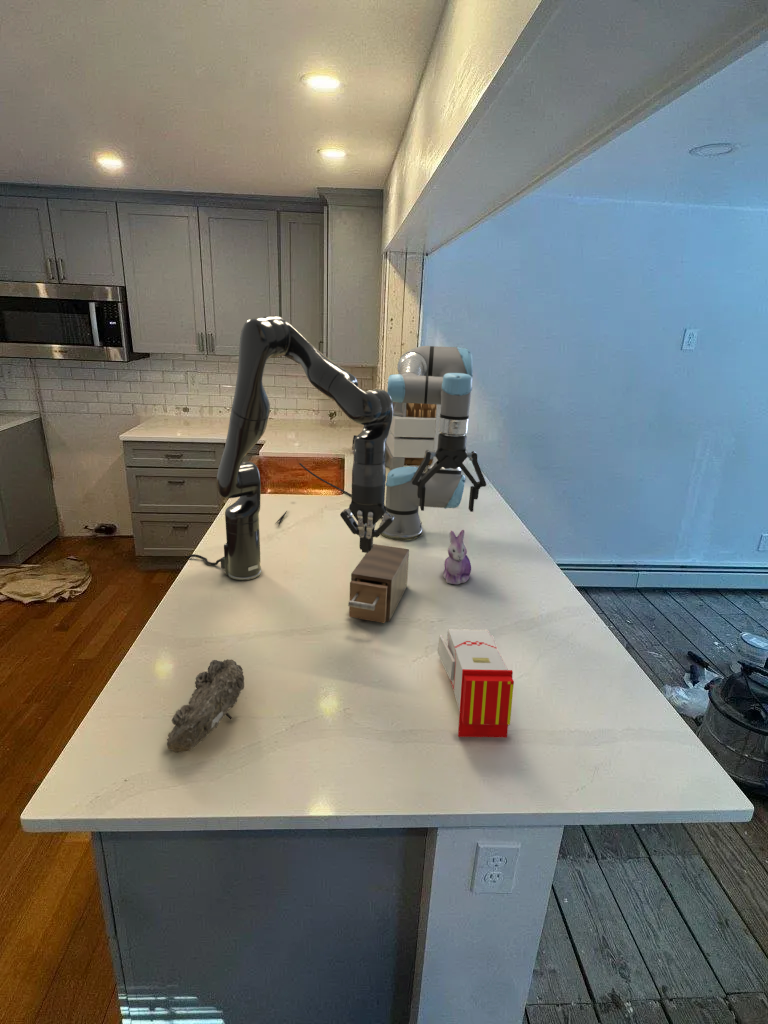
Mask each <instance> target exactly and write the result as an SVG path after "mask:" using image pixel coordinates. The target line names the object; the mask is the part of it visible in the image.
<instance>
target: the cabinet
mask: <svg viewBox="0 0 768 1024" xmlns="http://www.w3.org/2000/svg"><path fill="white" fill-rule="evenodd" d="M409 557H410V548H403V547H397V546H389V545H382V544H377V543H373V547H372V549H371V551H369V552H368V553H365V554H364V555H363V557H362V559H361V560H360V561H359V562H358V563H357V565H356V567H354V569H353V571H352V572H351V574H350V582H351V581H357V579H365V580H371V581H377V582H383V583H387V606H386V621H385V622H390V621H391V619H392V617H393V616H394V613H395V612H396V609H397V608H398V606H399V603H400V601H401V599H402V597H403V595H404V593H405V591H406V590H407V587H408V574H409V573H408V572H409V560H410V559H409Z"/></svg>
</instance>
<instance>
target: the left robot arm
mask: <svg viewBox="0 0 768 1024" xmlns="http://www.w3.org/2000/svg"><path fill="white" fill-rule="evenodd" d="M240 331H241V332H240V338H239V348H238V349H239V350H238V365H237V375H236V381H235V382H236V383H235V390H234V394H233V400H232V404H231V410H230V415H229V423H228V429H227V434H226V439H225V443H224V448H223V452H222V455H221V458H220V462H219V465H218V469H217V473H216V474H217V475H216V487H217V491H218V493H219V494H220V496H221V497H222V498H225V499H236V498H238V499H237V500H235V502H233V503H232V504H231V505H228V506H227V508H226V509H225V511H224V520H225V538H226V542H225V543H223V556H222V557H221V558H219V559H217V560H216V561H215V562H211V561H208V558H207V557H204V556H203V555H201V554H200V555H199V554H194V553H193V554H189V555H187V556H186V557H185V559H187V560H189V559H190V558H198V559H200V560H203V561H204V563H205V564H206V565H209V566H217V565H218V564H219V563H220V569H222V570H224V573H225V576H228V577H229V578H230V579H232V580H236V581H250V580H253V579H256V578H258V577H260V575H261V574H262V566H261V538H260V537H261V533H260V512H261V493H262V492H261V491H262V482H261V473H260V470H259V468H258V466H257V465H256V464H255V463H254V462H253V461H243V460H244V459H245V457H246V456H247V455H248V454H249V453H250V451H251V450H252V449H253V447H255V445H257V443H258V442H259V441H260V439H261V438H262V437H263V435H264V434H265V432H266V429H267V426H268V421H269V416H270V411H271V404H270V399H269V397H268V394H267V392H266V389H265V387H264V383H263V377H264V370H265V367H266V364H267V361H268V359H273V358H279V357H285V358H287V359H289V360H291V361H293V362H295V363H296V364H298V365H299V366H300V368H301V369H302V370H303V373H304V375H305V377H306V378H307V380H308V381H309V383H310V384H311V385H312V387H314V388H315V389H316V390H318V391H319V392H320V393H322V394H323V395H325V396H326V397H328V398H329V399H330V400H332V401H333V402H335V403H336V405H337V406H338V408H340V410H341V411H342V412H343V413H344V414H345V416H347V418H349V419H350V420H351V421H352V422H354V423H356V424H357V425H361V426H363V428H362V430H361V432H360V433H358V434H357V435H356V438H355V440H354V450H353V460H352V461H353V463H352V469H351V494H352V496H350V497H351V498H350V500H351V501H350V503H349V505H348V508H345V509H343V510H342V511H341V512H340V514H339V515H340V518H341V519H342V521H343V522H344V523H345V525H346V526H347V528H348V529H349V531H350V532H351V533H352V534H353V535H357V536H358V537H359V550H361V553H365V554H366V553H368V552H369V551H371V549H372V547H373V544H374V538H379V537H380V536H381V533H382V532H383V531H384V530H385V529H386V528H387V527H388V526H389V525H390V524H391V523H392V522H393V520H394V519H395V517H394V516H393V515H391V516H390V515H389V514H388V513H387V512H386V507H385V504H386V503H385V501H386V482H387V475H386V474H387V470H386V466H385V452H386V440H387V437H388V434H389V430H390V426H391V423H392V418H393V410H394V409H393V402H392V399H391V397H390V395H389V394H388V393H387V390H385V389H382V388H374V389H369V390H364V389H362V388H360V387H359V381H358V379H357V378H356V376H355V375H353V374H352V373H351V372H350V371H348V370H347V369H345V368H343V367H342V366H341V365H339V364H338V363H337V362H334V361H333V360H331V359H330V358H328V356H326V355H325V354H323V353H322V352H321V351H320V350H319V349H318V348H316V347H315V346H314V345H313V344H312V343H311V342H310V341H309V340H308V339H306V337H305V336H304V335H303V334H301V332H299V331H298V330H297V328H295V326H294V325H292V324H291V323H290V322H289V321H288V320H286V319H285V318H284V317H282V316H278V315H266V316H259V317H252V318H249V319H248V320H246V321H245V322H244V324H243V326H242V328H241V330H240ZM381 517H383V520H382V519H381ZM380 519H381V522H382V521H383V522H384V523H383V524H382V525H381V526H380V527H379V526H378V528H377V529H376V525H377V523H378V522H379V521H380Z"/></svg>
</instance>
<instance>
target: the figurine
mask: <svg viewBox="0 0 768 1024" xmlns="http://www.w3.org/2000/svg"><path fill="white" fill-rule="evenodd" d="M455 533H456V532H454V531H453V530H450V531H449V541H450V544H449V545H448V548H447V554H448V556H447V557H446V558H445V560H444V564H443V565H444V569H443V575H442V576H443V579H444V580H445V582H446V583H447V584H450V585H451V584H452V585H460V584H464V583H466V582H468V580H469V579H470V576H471V573H472V563H471V560H470V558H469V557H468V555H467V553H468V550H467V547H466V545H465V542H464V539H465V535H466V534H465V533H466V532H465V530H464V529H462V530H460V531H459V534H458V535H456V534H455Z"/></svg>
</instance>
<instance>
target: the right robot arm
mask: <svg viewBox="0 0 768 1024" xmlns="http://www.w3.org/2000/svg"><path fill="white" fill-rule="evenodd" d="M473 365H474V364H473V355H472V351H471V350H470V349H469V348H465V347H458V346H437V345H436V346H435V345H421V346H418V347H414V348H411V349H409V350H407V351H405V352H404V353H403V354H401V356H400V357H399V359H398V362H397V374H393V373H392V374H390V375H389V376H388V378H387V390H386V392H387V393H388V394H389V395H390V397H391V399H392V402H398V403H421V404H436V418H435V432H434V447H433V452H431V451H429V450H426V451H425V456H424V459H423V461H422V462H421V464H420V466H407V465H406V466H404V467H399V468H395V469H393V470H391V471H390V470H389V471H388V473H387V475H386V481H385V503H384V504H385V507H386V512H387V513H388V514H389V515H390V516H391V515H393V516H394V517H395V519H394V520H393V522H392V523H391V524H390V525H389V526H388V527H387V528H386V529H385V530H384V531H383V532H382V533H381V534H380V536H382V537H385V538H387V539H389V540H395V541H410V540H415V539H418V538H420V537H421V536H422V535H423V525H422V524H423V523H422V522H421V518H420V515H419V509H420V511H422V512H423V511H425V508H437V509H438V508H439V509H445V510H446V509H457V508H458V507H459V506H460V504H461V502H462V499H463V494H464V490H465V484H466V478H467V479H468V480H469V481H470V483H471V484H472V485H471V486H470V487H469V498H468V511H469V512H470V513H474V506H475V500H478V499H479V493H480V489H481V488H482V487H487V481H486V479H485V477H484V474H483V471H482V469H481V466H480V465H479V462H478V454H477V452H476V451H474V450H471V452H467V451H466V450H467V441H468V436H467V434H468V429H469V418H470V406H471V397H472V391H473V380H474V379H473V378H474V375H473V373H474V369H473V368H474V367H473ZM467 458H468V460H469V461H471V464H472V466H473V469H474V471H475V473H476V476H477V478H478V481H477V480H476V479H475V477H474V476H473V475H472V473H471V472H470V471H469V469H468V468H467V467H466V465H465V464H464V463H465V461H466V459H467ZM432 459H433V462H432V464H431V465H430V466H429V465H428V463H429V461H430V460H432ZM298 464H299V465H300V466H301V467H302V468H303V470H305V471H306V472H307V473H309V474H310V475H312V476H313V477H315V478H317V480H320V481H321V482H323V483H325V484H327V485H328V486H331V487H332V488H335V489H336V490H338V491H340V492H342V493H344V494H345V495H347V496H349V497H351V496H352V493H350V492H348V491H345V489H342V488H340V487H338V486H337V485H334V484H332V483H330V482H329V481H328V480H325V479H323V478H321V477H320V476H319V475H317V474H315V473H313V472H312V471H311V470H309V469H308V468H307V467H305V466H304V464H302V463H301V462H299V463H298ZM427 465H428V466H427ZM426 468H427V471H426V472H424V471H425V470H426ZM460 468H461V469H460ZM462 472H463V473H464V474H462ZM380 519H381V522H379V525H378V528H379V527H380V526H381V525H382V524H383V523H384V522H383V521H382V520H383V516H382V517H381V518H380Z"/></svg>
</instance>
